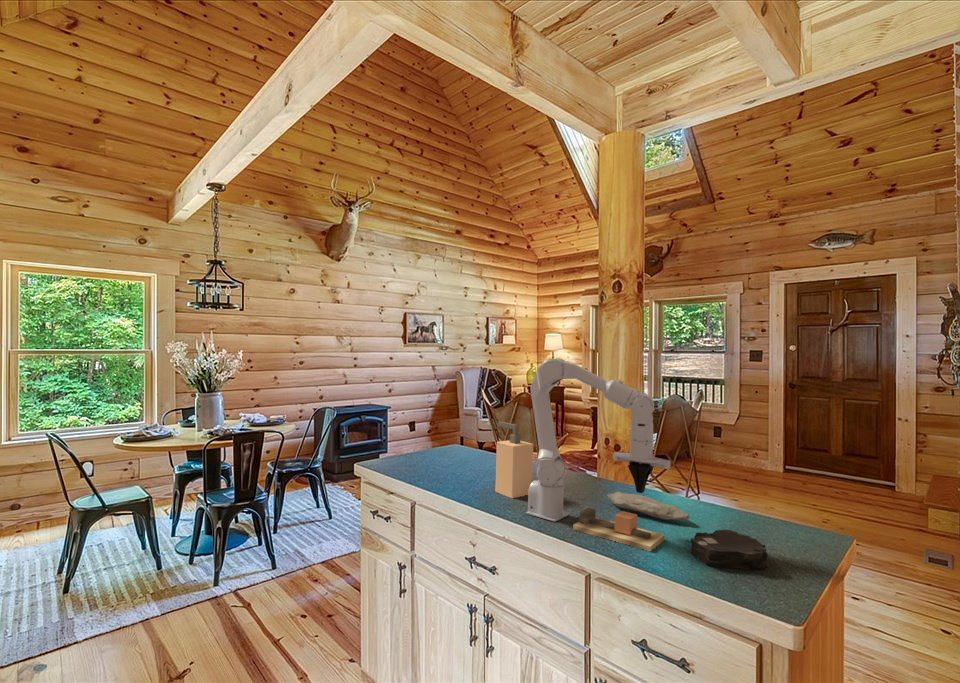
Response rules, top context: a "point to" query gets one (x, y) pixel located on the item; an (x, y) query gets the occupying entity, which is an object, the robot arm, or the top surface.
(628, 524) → the slider block
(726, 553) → the rock sample
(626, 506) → the stone tool
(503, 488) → the soap dispenser
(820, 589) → the top surface
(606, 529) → the rail board
